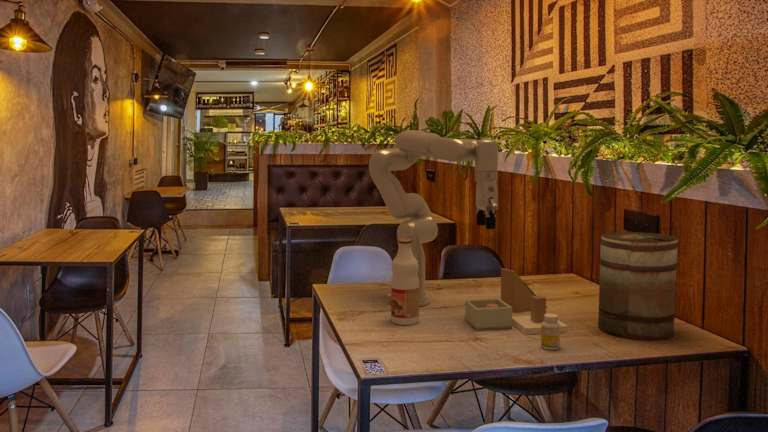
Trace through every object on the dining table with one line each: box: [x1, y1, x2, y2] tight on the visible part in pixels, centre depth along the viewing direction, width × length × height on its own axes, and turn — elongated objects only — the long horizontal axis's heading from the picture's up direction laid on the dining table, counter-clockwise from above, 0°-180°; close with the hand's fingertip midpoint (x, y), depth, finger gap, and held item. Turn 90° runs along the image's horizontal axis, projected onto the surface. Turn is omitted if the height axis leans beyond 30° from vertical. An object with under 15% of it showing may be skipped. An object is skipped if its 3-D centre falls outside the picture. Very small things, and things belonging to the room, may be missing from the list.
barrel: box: [597, 231, 679, 342], centre depth 203 cm, size 22×22×30 cm
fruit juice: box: [390, 239, 420, 326], centre depth 214 cm, size 9×9×28 cm
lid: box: [512, 295, 569, 336], centre depth 208 cm, size 14×14×10 cm
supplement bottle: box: [540, 313, 561, 351], centre depth 187 cm, size 5×5×10 cm
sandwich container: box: [500, 267, 549, 314], centre depth 232 cm, size 9×15×15 cm, turn 114°
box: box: [464, 298, 513, 332], centre depth 211 cm, size 12×12×7 cm
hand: (485, 227), depth 217 cm, fingers open, 9 cm apart
